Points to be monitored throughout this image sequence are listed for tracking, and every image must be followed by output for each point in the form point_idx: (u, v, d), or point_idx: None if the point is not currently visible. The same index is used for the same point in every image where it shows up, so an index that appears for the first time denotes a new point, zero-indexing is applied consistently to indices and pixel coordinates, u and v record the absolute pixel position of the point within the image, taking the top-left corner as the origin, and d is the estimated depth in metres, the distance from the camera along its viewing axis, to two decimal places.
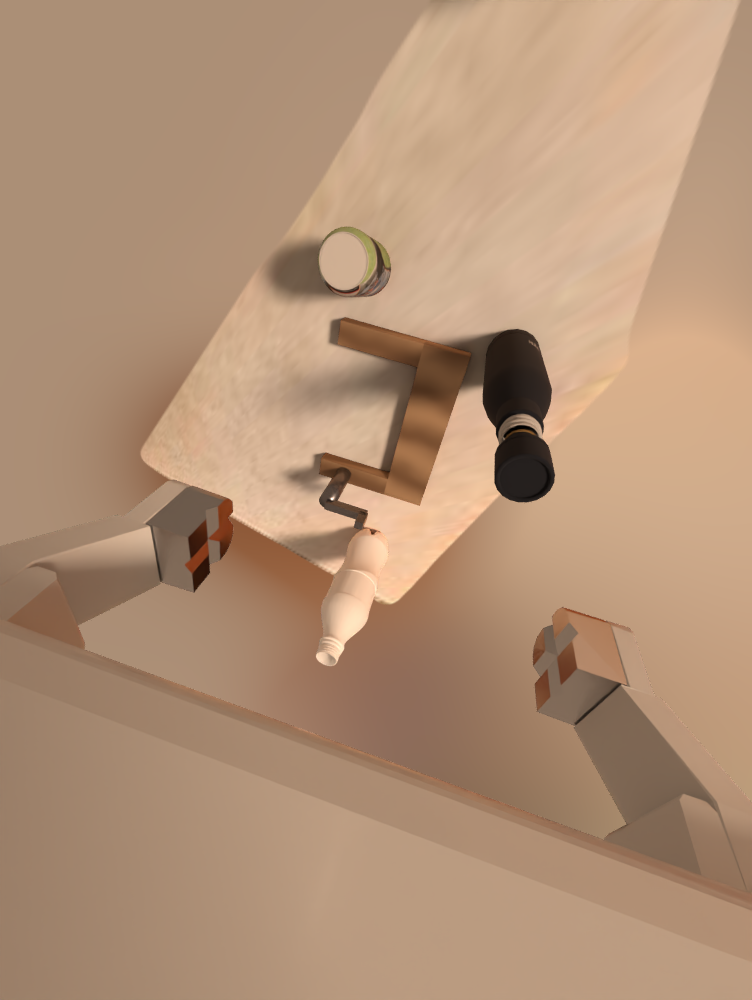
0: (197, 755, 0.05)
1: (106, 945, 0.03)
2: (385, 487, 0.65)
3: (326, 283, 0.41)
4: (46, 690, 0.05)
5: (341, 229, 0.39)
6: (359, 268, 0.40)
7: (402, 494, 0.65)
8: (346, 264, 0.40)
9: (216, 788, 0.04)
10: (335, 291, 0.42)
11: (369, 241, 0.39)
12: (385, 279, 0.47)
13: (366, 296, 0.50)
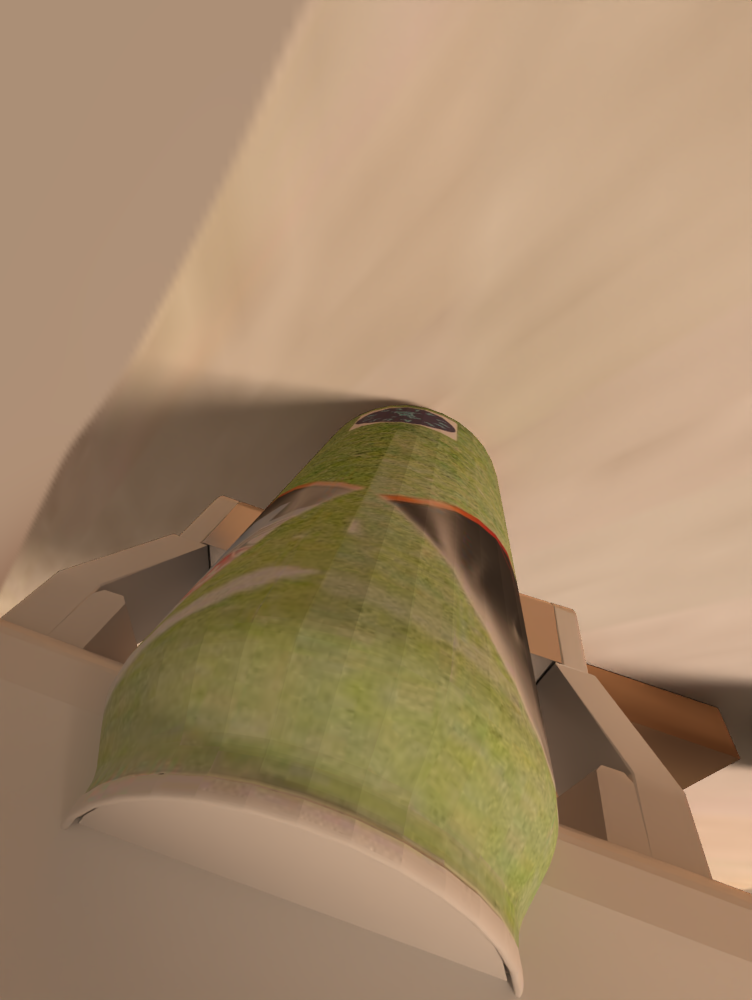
0: None
1: (106, 944, 0.03)
2: None
3: None
4: (46, 690, 0.05)
5: (247, 681, 0.04)
6: None
7: None
8: None
9: None
10: None
11: (522, 765, 0.04)
12: None
13: None
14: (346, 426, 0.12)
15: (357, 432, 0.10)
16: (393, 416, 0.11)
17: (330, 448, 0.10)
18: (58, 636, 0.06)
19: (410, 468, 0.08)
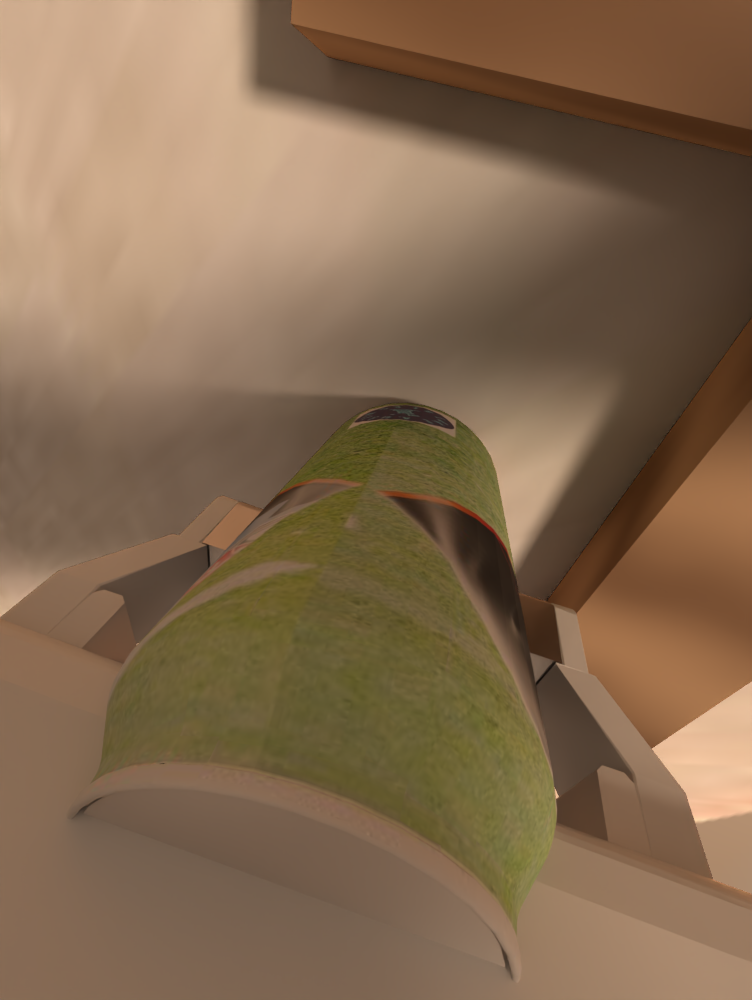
0: None
1: (105, 946, 0.03)
2: None
3: None
4: (46, 689, 0.05)
5: (245, 672, 0.04)
6: None
7: None
8: None
9: None
10: None
11: (519, 753, 0.04)
12: None
13: None
14: (345, 425, 0.12)
15: (356, 430, 0.10)
16: (392, 414, 0.11)
17: (329, 446, 0.10)
18: (57, 636, 0.06)
19: (408, 465, 0.08)
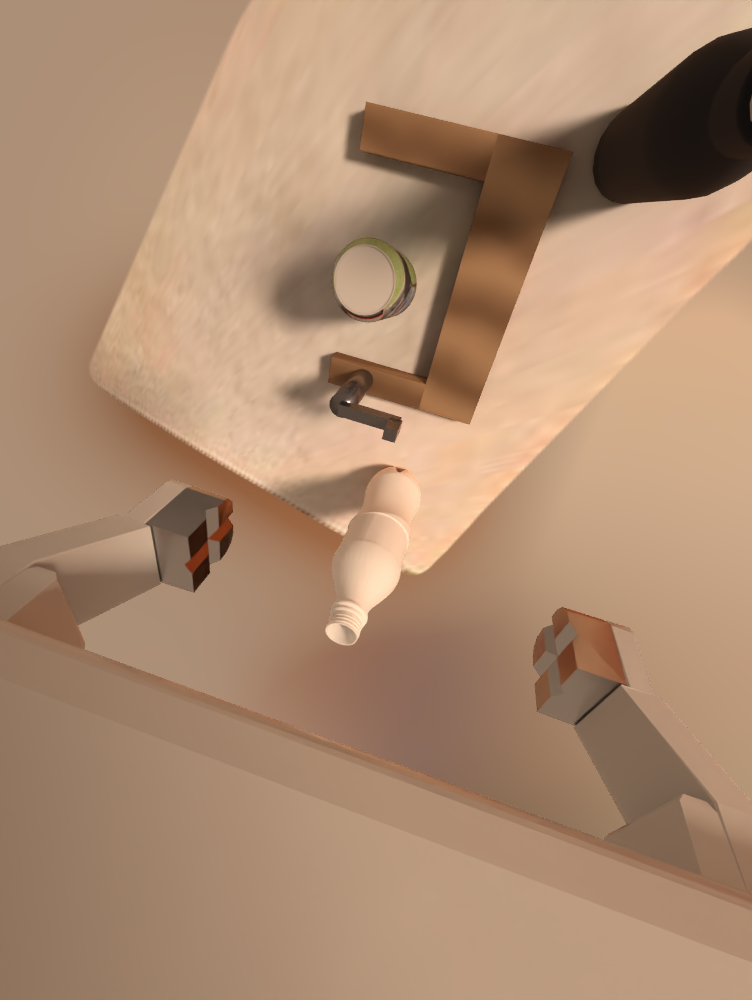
0: (197, 755, 0.05)
1: (105, 946, 0.03)
2: (421, 398, 0.46)
3: (342, 307, 0.34)
4: (46, 689, 0.05)
5: (361, 241, 0.31)
6: (384, 288, 0.32)
7: (445, 408, 0.46)
8: (368, 284, 0.32)
9: (216, 788, 0.04)
10: (353, 316, 0.34)
11: (396, 255, 0.32)
12: (410, 298, 0.39)
13: None
14: None
15: None
16: None
17: None
18: None
19: None
